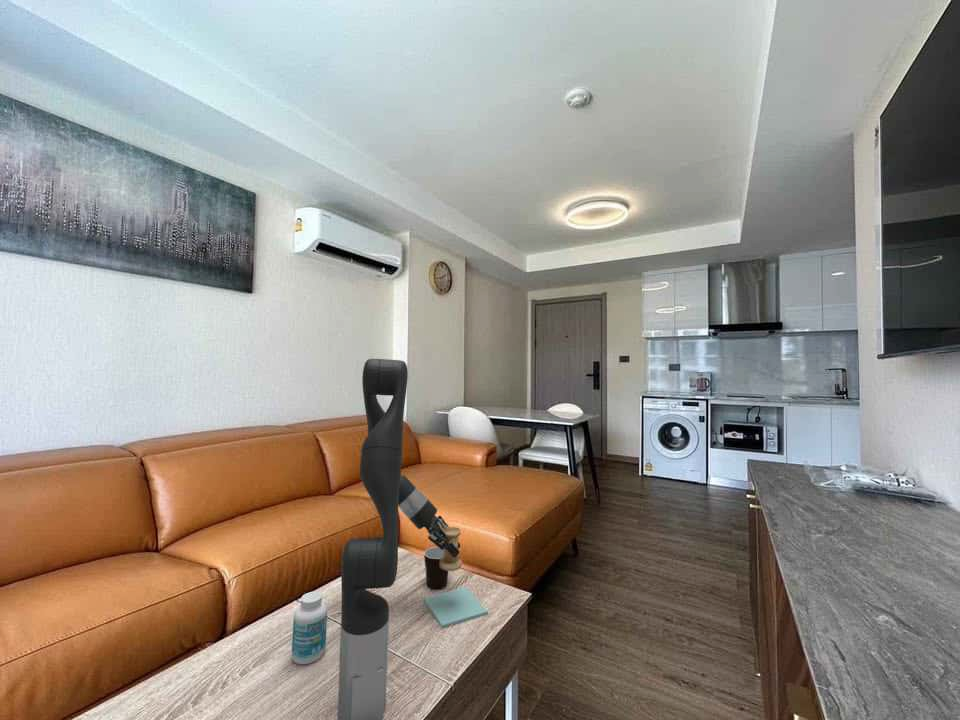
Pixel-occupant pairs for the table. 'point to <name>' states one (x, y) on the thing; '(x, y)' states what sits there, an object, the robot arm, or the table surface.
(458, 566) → the tan chess pawn
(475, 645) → the table surface
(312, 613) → the pill bottle
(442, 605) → the mat
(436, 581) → the coffee mug
